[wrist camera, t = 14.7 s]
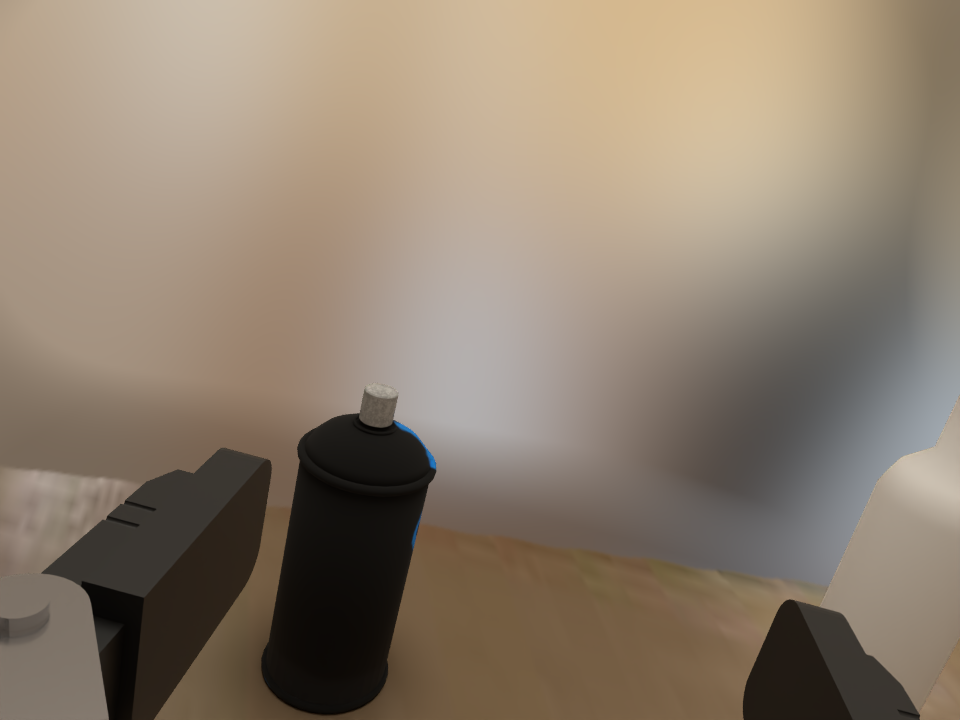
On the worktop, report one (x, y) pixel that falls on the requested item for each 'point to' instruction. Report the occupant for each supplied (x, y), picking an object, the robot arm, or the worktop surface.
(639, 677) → the worktop surface
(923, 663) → the bottle
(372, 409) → the aerosol can
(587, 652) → the worktop surface
